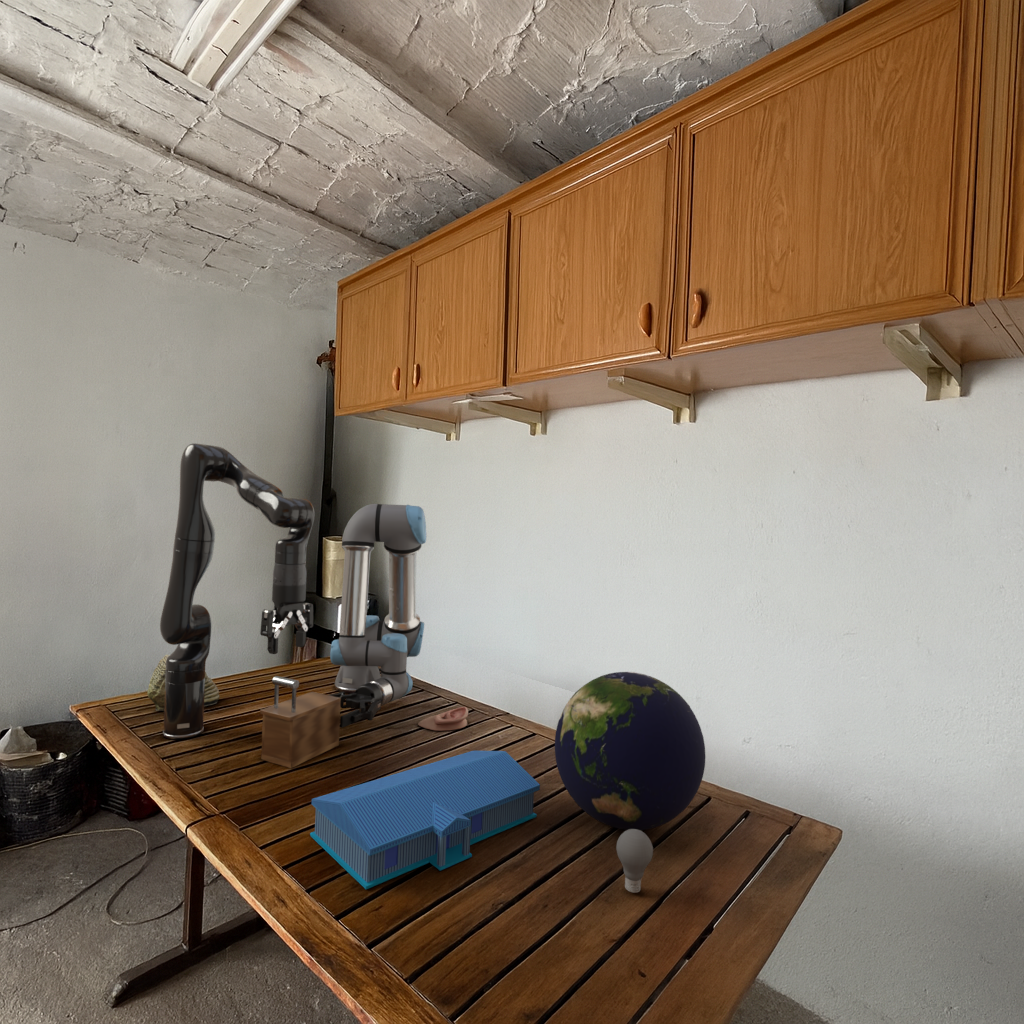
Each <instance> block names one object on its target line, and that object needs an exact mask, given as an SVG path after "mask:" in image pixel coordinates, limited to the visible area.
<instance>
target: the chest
mask: <svg viewBox="0 0 1024 1024" xmlns="http://www.w3.org/2000/svg"><path fill="white" fill-rule="evenodd" d="M340 716H341V707H340V702H338V703H335V704H332V705H330V706H327V707H325V708H322V709H320V710H317V711H315V712H312V713H310V714H307V715H305V716H302V717H300V718H297V719H294V720H292V721H287V720H283V719H279V718H275V717H272V716H268V715H264V714H262V728H261V755H260V759H261V760H263V761H265V762H270V763H273V764H276V765H279V766H282V767H285V768H288V769H293V768H295V767H298V766H299V765H301V764H303V763H305V762H307V761H309V760H311V759H313V758H316V757H318V756H320V755H322V754H325V752H328V751H330V750H332V749H334V748H336V747H338V746H340V728H341V727H340Z"/></svg>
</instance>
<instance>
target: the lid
mask: <svg viewBox="0 0 1024 1024" xmlns="http://www.w3.org/2000/svg"><path fill="white" fill-rule="evenodd" d="M271 682H272V684H273V685H274V695H273V696H274V697H273V704H272V705H270V706H268V707H265V708H264V707H263V708H261V709H260V710H259V714H260V715H263V714H264V715H268V716H272V717H275V718H279V719H283V720H287V721H292V720H294V719H297V718H300V717H302V716H305V715H307V714H310V713H312V712H315V711H317V710H320V709H322V708H325V707H327V706H330V705H332V704H335V703H338V702H340V701H341V698H338V697H334V696H329V695H330V694H324V693H320V692H316V691H310V692H306V693H304V694H301V695H299V696H297V690H298V688H299V686H300V681H299V680H297V679H294V678H288V677H285V676H279V675H275V676H273V678H272V680H271ZM280 687H284V688H288V689H291V698H290V699H287V700H284V701H281V702H279V693H280Z"/></svg>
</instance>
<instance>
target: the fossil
mask: <svg viewBox="0 0 1024 1024" xmlns="http://www.w3.org/2000/svg"><path fill="white" fill-rule="evenodd" d="M170 655H171V654H165V655H164V656H163V657H162V658H161V659H160V660H159V662H158V663H157V666H156V667H155V669H154V670H153V672H152V675H151V677H150V680H149V684H148V688H147V697H148V699H149V700H150V701H152V703H153V704H154V706H155V711H158V712H159V711H162V712H163V711H164V705H165V674H166V660H167V658H168V656H170ZM220 698H221V696H220V690H219V688H218V686H217V685H216V683H215V682H214V681H213V679H212V678H211V677H209V675H208V674H207V672H206V671H205V693H204V707H207V706H213V705H215V704H217V703H218V701H219V699H220Z"/></svg>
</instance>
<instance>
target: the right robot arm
mask: <svg viewBox="0 0 1024 1024" xmlns="http://www.w3.org/2000/svg"><path fill="white" fill-rule="evenodd" d="M425 515H426V514H425V511H424V509H423V508H422V506H419V505H411V504H386V503H385V504H384V503H369V504H366V505H364V506H362V507H361V508H359V509H358V510H356V512H355V513H354V514H353V515H352V516H351V517H350V519H349V520H348V522H347V524H346V525H345V528H344V531H343V533H342V538H341V548H342V550H343V551H344V559H343V572H342V573H343V574H342V575H343V576H342V590H341V605H340V606H341V607H340V618H339V619H340V621H339V637H338V638H337V639H334V640H332V641H331V645H330V654H329V658H330V662H331V664H332V665H334V666H340V667H339V669H338V671H337V675H336V677H335V680H334V689H335V690H336V691H338V692H336V693H330V694H328V695H329V696H334V697H338V698H341V701H340V709H342V710H343V709H354V710H353V711H352V710H351V711H350V712H348V713H345V714H343V715H340V728H341V729H343V728H345V727H347V726H349V725H352V724H354V723H357V722H358V721H364V720H367V721H369V722H371V721H372V720H373V719H374V717H375V716H376V715H377V712H378V711H380V710H381V709H382V706H385V705H387V704H390V703H391V702H394V701H397V700H400V699H402V698H403V697H405V696H407V695H408V694H409V693H410V692H411V691H412V689H413V685H414V684H413V683H414V682H413V679H412V676H411V674H410V673H409V672H407V664H408V662H407V660H408V658H415V657H418V656H419V655H420V653H421V649H422V643H423V637H424V631H425V622H423V621H421V618H420V616H419V614H417V612H416V611H417V610H416V609H417V608H416V607H417V605H416V604H417V553H418V552H419V551H420V550H421V549H422V545H423V544H426V543H427V522H426V516H425ZM375 543H383V549H384V550H385V551H386V552H388V614H386V616H385V617H384V620H380V618H379V617H380V616H378V615H373V614H371V615H370V614H369V615H367V614H368V600H369V599H368V598H369V597H368V596H369V580H370V564H371V553H372V552H373V550H375Z"/></svg>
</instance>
